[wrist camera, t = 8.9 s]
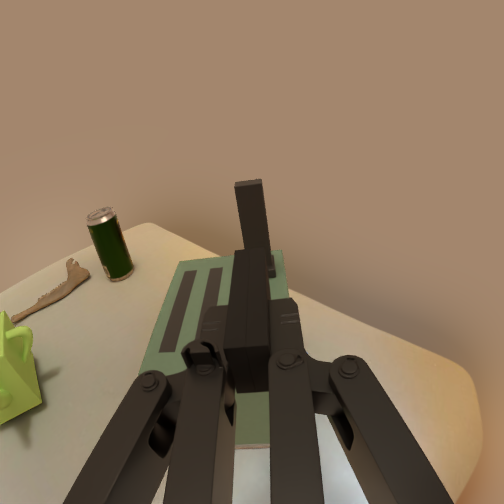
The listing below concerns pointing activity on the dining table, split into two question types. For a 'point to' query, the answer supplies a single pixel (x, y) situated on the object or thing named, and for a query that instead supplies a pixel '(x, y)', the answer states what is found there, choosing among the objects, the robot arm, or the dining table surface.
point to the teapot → (16, 370)
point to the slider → (254, 219)
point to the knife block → (189, 327)
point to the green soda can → (110, 243)
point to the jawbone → (58, 289)
